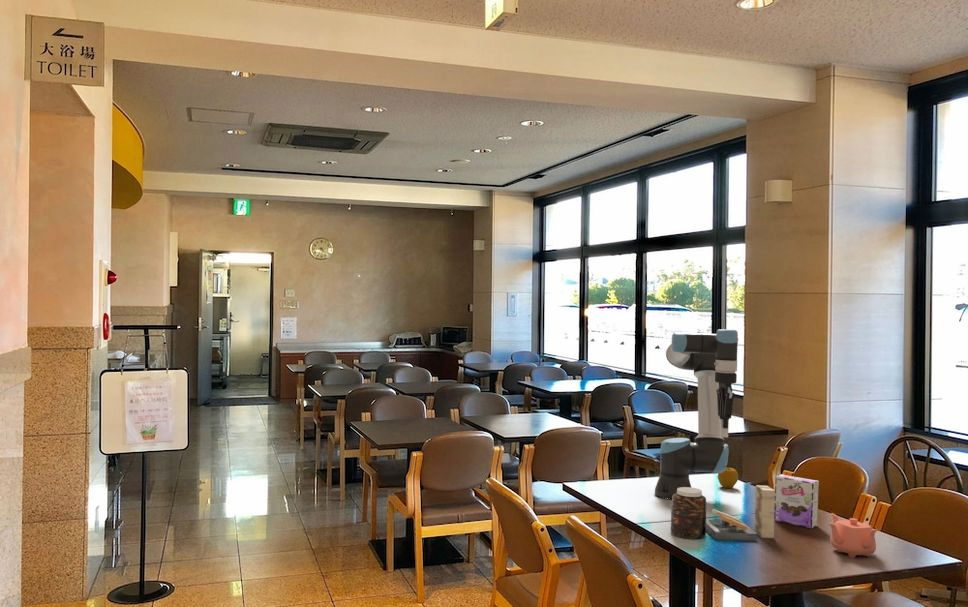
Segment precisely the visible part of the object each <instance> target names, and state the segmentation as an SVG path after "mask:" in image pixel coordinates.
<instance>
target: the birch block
mask: <svg viewBox="0 0 968 607" xmlns="http://www.w3.org/2000/svg"><path fill="white" fill-rule="evenodd" d="M754 493H755V494H754V496H755V497H754V499H755V500H754V523H753V524H754V527H753V529H754V530H753V531H755V532H756V533H757V536H759V537H760V538H763V539H764V538H765V539H774V538H775V537H774V536H775V534H774V533H775V532H774V531H775V520H774V508H775V489H773V488H772V487H770V486H769V485H759V484H758V485H757V484H756V485H755V492H754Z"/></svg>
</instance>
